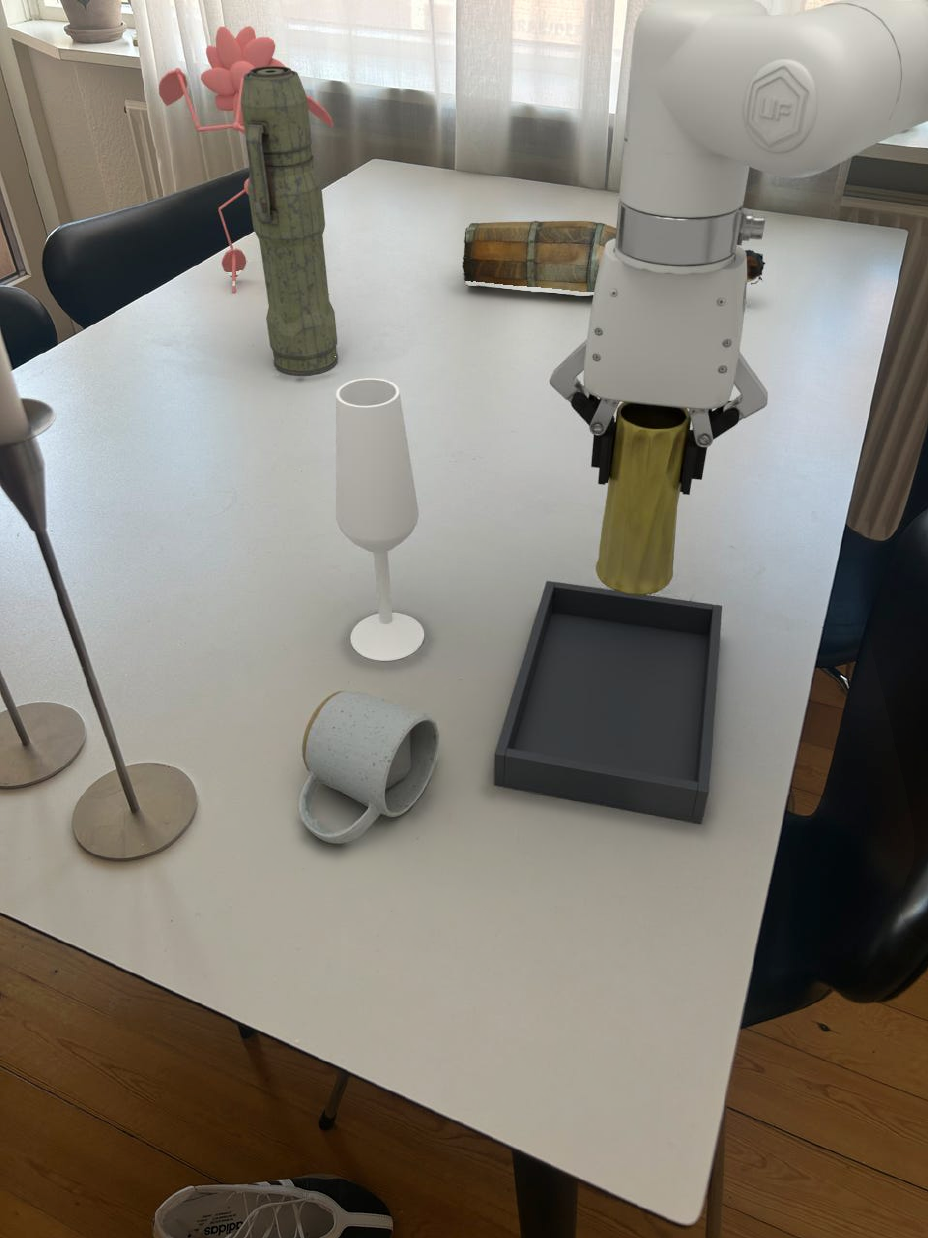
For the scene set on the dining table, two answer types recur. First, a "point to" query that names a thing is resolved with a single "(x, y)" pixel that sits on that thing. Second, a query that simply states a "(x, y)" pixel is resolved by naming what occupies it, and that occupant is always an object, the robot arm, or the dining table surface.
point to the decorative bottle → (547, 254)
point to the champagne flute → (376, 502)
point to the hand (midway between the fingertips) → (645, 477)
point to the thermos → (288, 221)
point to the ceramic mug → (366, 758)
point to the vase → (643, 498)
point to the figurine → (230, 96)
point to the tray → (615, 702)
